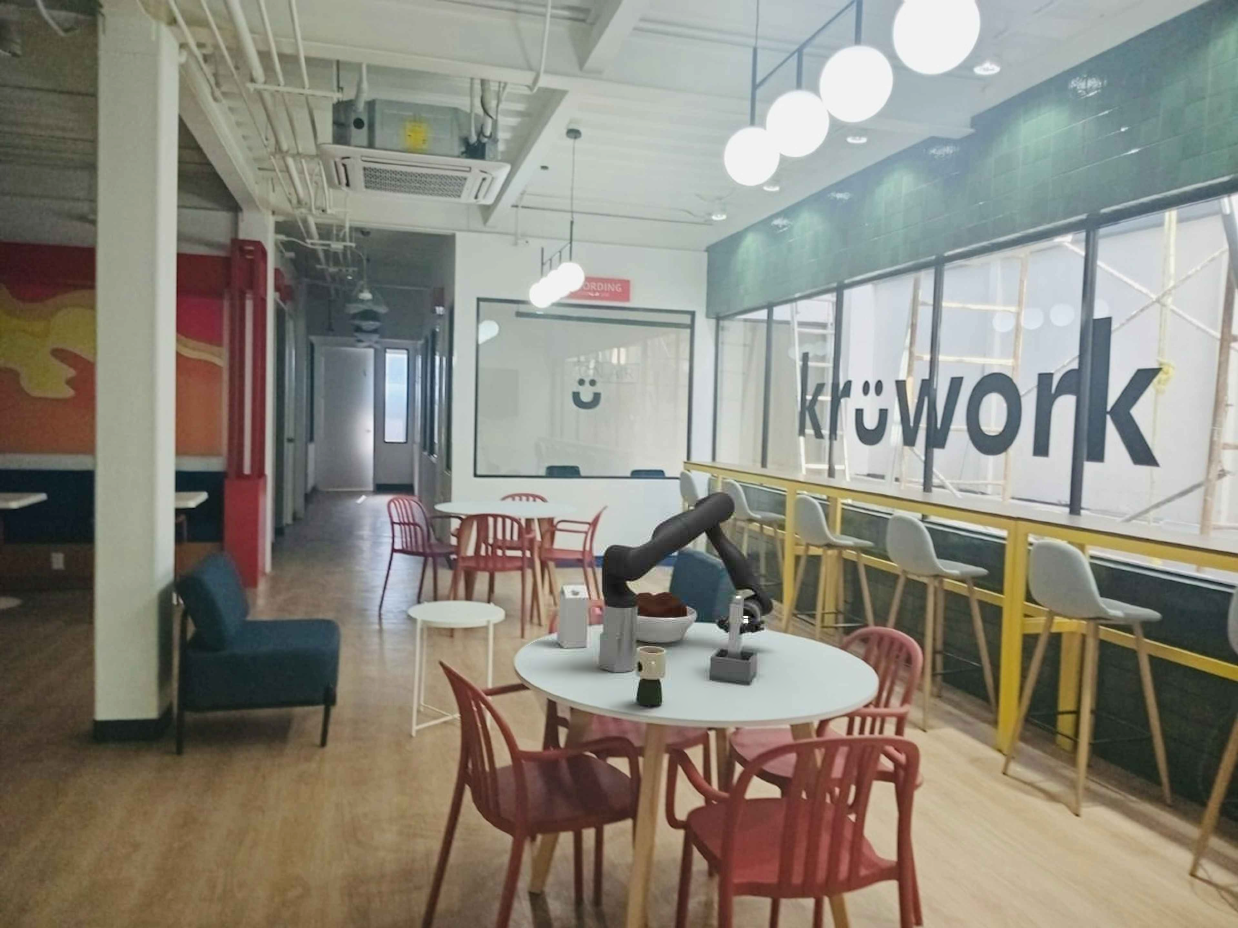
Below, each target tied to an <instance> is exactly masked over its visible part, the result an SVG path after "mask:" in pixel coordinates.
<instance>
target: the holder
mask: <svg viewBox="0 0 1238 928" xmlns="http://www.w3.org/2000/svg"><path fill="white" fill-rule="evenodd" d="M727 654H728V648H723V647H719V648H718V649H717V650H715V652H713V653H712V655H711V656H710V664H709V665H710V666H709V680H711V681H718V682H724V683H731V684H739V685H746V686H747V685H749V686H750V685H751V684H752V682H753V680H754V679H755V678H756V676H757V669H758V652H754V651H745V650H741V656H744V660H737V659H729V658H725V657H726V655H727Z"/></svg>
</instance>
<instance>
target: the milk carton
mask: <svg viewBox="0 0 1238 928" xmlns="http://www.w3.org/2000/svg"><path fill="white" fill-rule="evenodd" d="M589 603H590V596H589V592H588V588H587V583H586V581H562V586H561V588H560V590H559V593H558V605H557V606H558V611H557V612H558V613H557V629H556V630H557V635H556V643H557V644H558V645H560V646H561V647H562V648H564V649H574V648H577V649H578V648H587V645H588V627H589V626H588V625H589V624H588V623H589V622H588V621H589V605H590V604H589Z"/></svg>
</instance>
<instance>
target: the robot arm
mask: <svg viewBox="0 0 1238 928" xmlns="http://www.w3.org/2000/svg"><path fill="white" fill-rule="evenodd" d="M735 509H736V507H735V501H734V499H733V498H732V497H731V496H730V495H729V494H728V493H726V492H724V491H718V492H717V491H716V492H713V493H711V494H709V495H707V496H705V497H702V498H700V499H699V500H697V501H696V502H695V504H694V507H693V508H690V509H687V510H684V511H682V512H680V513H678V514H675V515H673V516H672V517H669V518H667V519H666V520H664V521H662V522H661V523H659V524H658V525H657V526H656V527H655V528H654V530H653V532H652V535H651V539H650V540H649V541H646V542H645V543H643V544H642V545H639V546H633V547H632V546H627V545H621V544H612V545H609V546H607V548H606V550H605V551H604V553H603V556H602V559H601V594H602V596H603V603H604V604H603V618H602V619H603V621H602V632H601V633H600V635H599V637H600V638H599V653H598V654H599V657H598V669H602V670H605V671H609V672H612V673H614V674H615V673H622V672H623V673H626V672H631V671H634V670H636V652H637V639H636V636H637V615H638V596H637V594H638V593H636V592H634V591H633V590H632V589H631V588H630V587H629V585H628V582H635V581H638V580H640V579H642V578H643V577H644V576H645V575H646V574H648V573H649V572H650V571H651V570H653V568H654V567H656V566H658V564H660V563H662V562H663V561H664V560H665V559H667V558H668V557H669V558H670V557H671V555H674V554H675V553H677V552H679V551H680V550H682V549H683V548H685V547H687V546H688V545H689V544H691V543H692V542H694V541H695V540H696V539H697V538H699V537H700V536H701V535H703V534H705V535H706V537H707V539H708V540H709V542H710V543H711V545H712V547H713V549H715V551H716V552H717V554H718V556H719V558H720V559H721V561H722V564H723V565H724V568H725V570H726V572H727V574H728V577H729V579H730V581H731V584H732V586H733V588H734V589H735V591H744V590H745V591H746V590H749V591H752V592H753V594H750V595H748V596H745V597H744V605H743V624H742V625H741V626H740V630H739V634H740V635H742V636H743V635H744V634H748V633H751V634H755V633H759V632H761V631H764V630H765V620H763V619H761V618H762V617H763V616H764V617H765V616H767V615H769V614H771V613H772V612H773V609H774V603H773V602H774V601H773V600H772V598H771V597H770V595H769V594H768V593H767V592H766V590H765V589H764V587H762V586H761V584H760V583H759V580H757V578H756V575H755V574H754V571H753V569H752V568H751V565H750V562H749V561H748V558H747V557H746V556H745V554H744V553H743V552H742V551H741V550H740V549H739V548H738V547H737V546H736V545H735V544H734V543H732V542H731V540H729V538H728V537H727V536H726V534H725V533H724V531H723V530H722V526H721V524H722V523H724V522H727V521H729V520H730V519H731V518H732V516H733V515H734V513H735ZM729 619H730V615H728V616H726V617H724V616H721V615H720V614H719V615H716V626H717V627H718V628H719V629H720V630H723V632H724V633H725V634H729Z"/></svg>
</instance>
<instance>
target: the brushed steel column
mask: <svg viewBox="0 0 1238 928" xmlns="http://www.w3.org/2000/svg"><path fill="white" fill-rule="evenodd" d="M729 598H730V599H729V600H730V601H729V605H730V606H729V616H730V619H729V632H728V639H727V640H728V641H727V642H728V644H727V645H728V646H727V649H728V654H727V655H726V657H725V658H729V659H737V660H744V656H741V651H742V643H743V634H742V635H740V634H739V630H740V626H741V625H742V624H743V605H744V598H745V597H744V596H743V595H734V594H731V595H730V597H729Z"/></svg>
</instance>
